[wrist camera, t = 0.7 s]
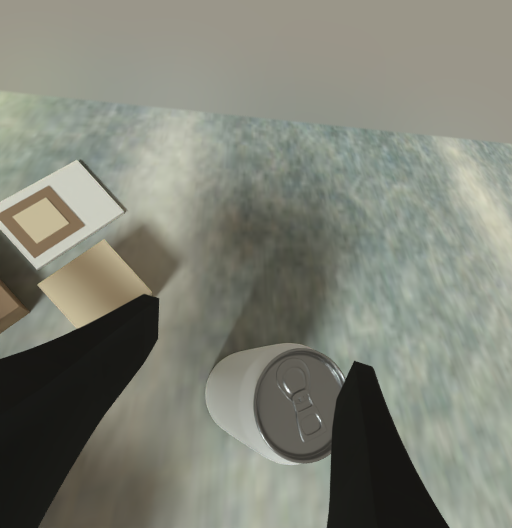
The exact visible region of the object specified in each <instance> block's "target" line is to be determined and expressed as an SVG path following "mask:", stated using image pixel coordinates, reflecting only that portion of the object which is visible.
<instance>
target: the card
mask: <svg viewBox="0 0 512 528" xmlns="http://www.w3.org/2000/svg"><path fill="white" fill-rule="evenodd" d="M123 214H124V211H123V210H122V209H121V208H120V207H119V205H118V204H117V203H116V202H115V201H114V200H113V199H112V198H111V197H110V196H109V194H108V193H107V192H106V191H105V190H104V189H103V188H102V187H101V186H100V184H99V183H98V182H97V181H96V180H95V179H94V178H93V177H92V176H91V175H90V173H89V172H88V171H87V170H86V169H85V168H84V167H83V166H82V165H81V163H80V162H79V161H78V160H76V161H74V162H72V163H70V164H68V165H67V166H65V167H63V168H61V169H59V170H58V171H56V172H54V173H52V174H50V175H48V176H47V177H45V178H43V179H41V180H39V181H37V182H36V183H34V184H32V185H30V186H28V187H26V188H25V189H23V190H21V191H19V192H17V193H16V194H14V195H12V196H10V197H8V198H6V199H5V200H3V201H1V202H0V229H1V231H2V232H3V233H4V234H5V235H6V236H7V237H8V238H9V239H10V240H11V242H12V243H13V244H14V245H15V246H16V247H17V248H18V249H19V250H20V252H21V253H22V254H23V255H24V256H25V257H26V258H27V259H28V260H29V261H30V263H31V264H32V265H33V266H34V267H35V268H36V269H37V270H40V269H41V268H43V267H44V266H46V265H48V264H49V263H51V262H52V261H54V260H55V259H57V258H58V257H60V256H61V255H63V254H64V253H66V252H67V251H69V250H70V249H72V248H73V247H75V246H76V245H78V244H79V243H81V242H82V241H84V240H85V239H87V238H88V237H90V236H91V235H93V234H94V233H96V232H97V231H99V230H100V229H102V228H103V227H105V226H106V225H108V224H109V223H111V222H112V221H114V220H115V219H117V218H119V217H120V216H122V215H123Z"/></svg>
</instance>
